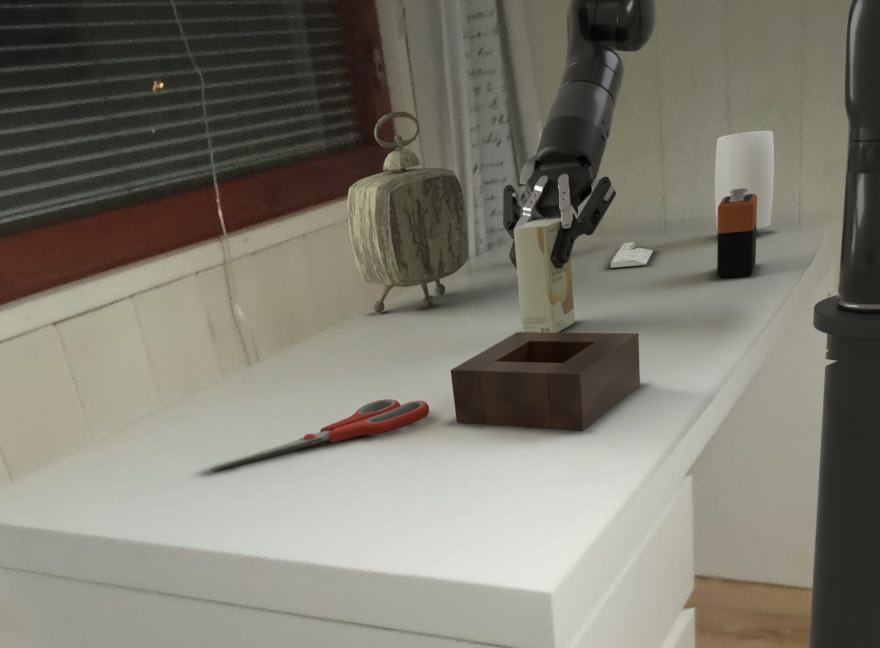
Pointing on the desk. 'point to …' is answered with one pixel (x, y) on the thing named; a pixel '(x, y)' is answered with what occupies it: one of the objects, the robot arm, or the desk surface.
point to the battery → (736, 234)
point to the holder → (547, 379)
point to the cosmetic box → (542, 278)
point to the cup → (746, 170)
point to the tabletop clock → (407, 222)
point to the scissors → (356, 425)
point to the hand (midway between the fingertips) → (536, 264)
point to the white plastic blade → (630, 256)
